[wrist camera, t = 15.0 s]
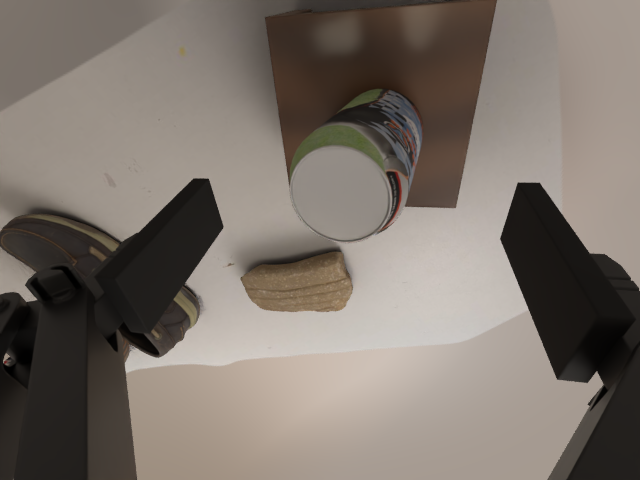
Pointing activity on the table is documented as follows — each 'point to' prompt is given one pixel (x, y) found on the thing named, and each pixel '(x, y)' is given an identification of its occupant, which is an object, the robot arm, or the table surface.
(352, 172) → the beverage can
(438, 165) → the walnut shelf
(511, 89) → the table surface
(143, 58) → the table surface
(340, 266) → the decorative stone
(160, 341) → the boat shoe
